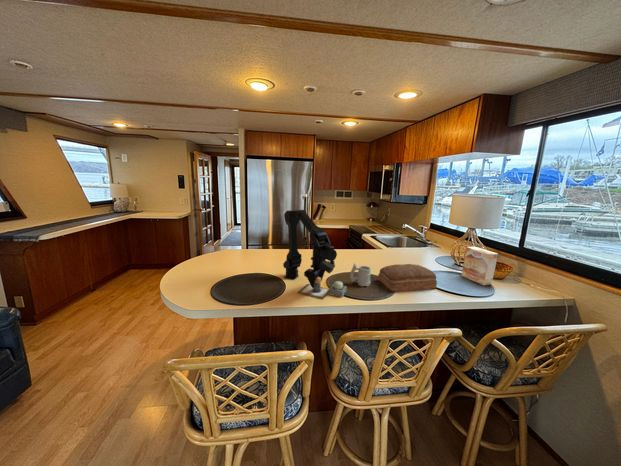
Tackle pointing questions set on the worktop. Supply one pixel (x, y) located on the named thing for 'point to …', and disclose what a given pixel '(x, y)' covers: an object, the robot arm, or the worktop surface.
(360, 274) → the mug
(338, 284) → the button
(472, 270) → the coffeecake box
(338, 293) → the button collar
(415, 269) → the bread
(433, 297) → the worktop surface
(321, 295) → the picture frame
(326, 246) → the robot arm
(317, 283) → the marker
